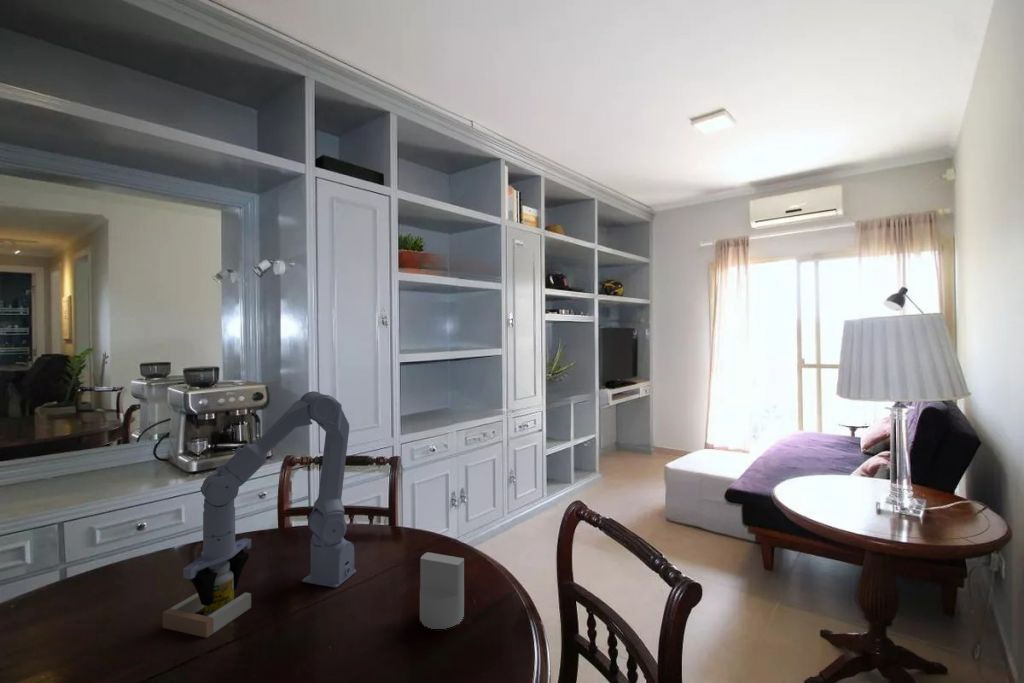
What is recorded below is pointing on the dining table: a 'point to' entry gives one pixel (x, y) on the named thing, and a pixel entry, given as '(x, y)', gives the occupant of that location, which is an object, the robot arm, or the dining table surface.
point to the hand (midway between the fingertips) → (219, 596)
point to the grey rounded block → (441, 590)
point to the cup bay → (201, 625)
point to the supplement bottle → (221, 587)
